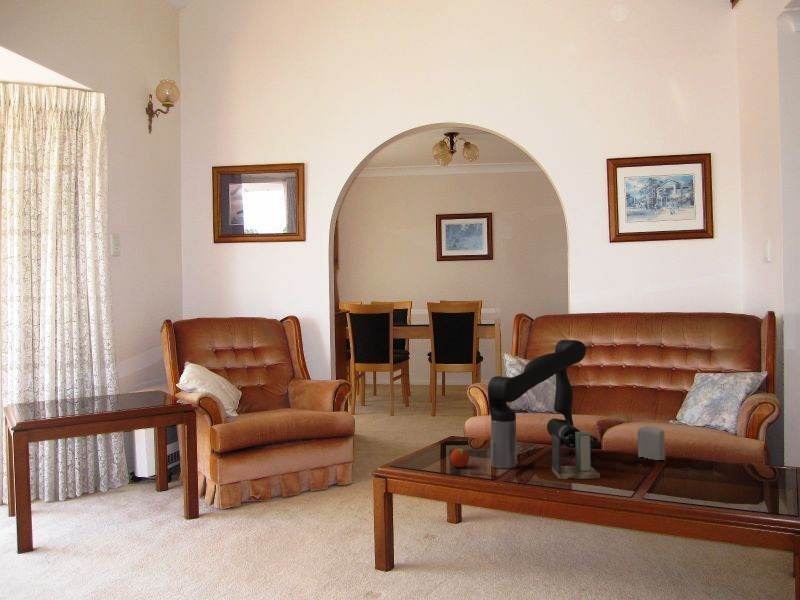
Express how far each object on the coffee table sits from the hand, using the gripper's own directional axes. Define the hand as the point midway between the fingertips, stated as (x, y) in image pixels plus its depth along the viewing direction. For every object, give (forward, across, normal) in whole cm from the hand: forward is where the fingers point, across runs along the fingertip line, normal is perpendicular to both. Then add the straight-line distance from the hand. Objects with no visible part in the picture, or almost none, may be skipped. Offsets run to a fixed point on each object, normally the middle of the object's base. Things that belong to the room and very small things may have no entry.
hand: (581, 444), depth 247 cm
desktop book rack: (+2, -3, +10) cm, 11 cm away
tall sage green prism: (+2, 0, +8) cm, 9 cm away
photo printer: (-20, +32, +10) cm, 39 cm away
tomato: (-11, -42, +10) cm, 45 cm away
